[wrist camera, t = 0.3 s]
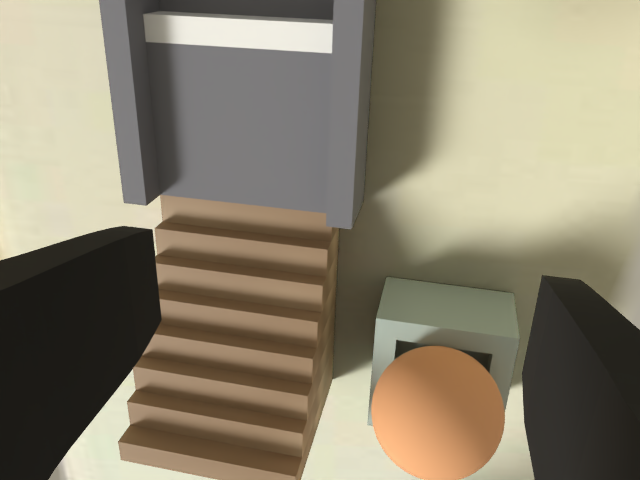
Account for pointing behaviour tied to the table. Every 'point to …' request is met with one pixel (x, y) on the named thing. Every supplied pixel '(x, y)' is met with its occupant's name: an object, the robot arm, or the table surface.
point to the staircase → (236, 342)
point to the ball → (438, 413)
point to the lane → (242, 101)
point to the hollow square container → (446, 326)
